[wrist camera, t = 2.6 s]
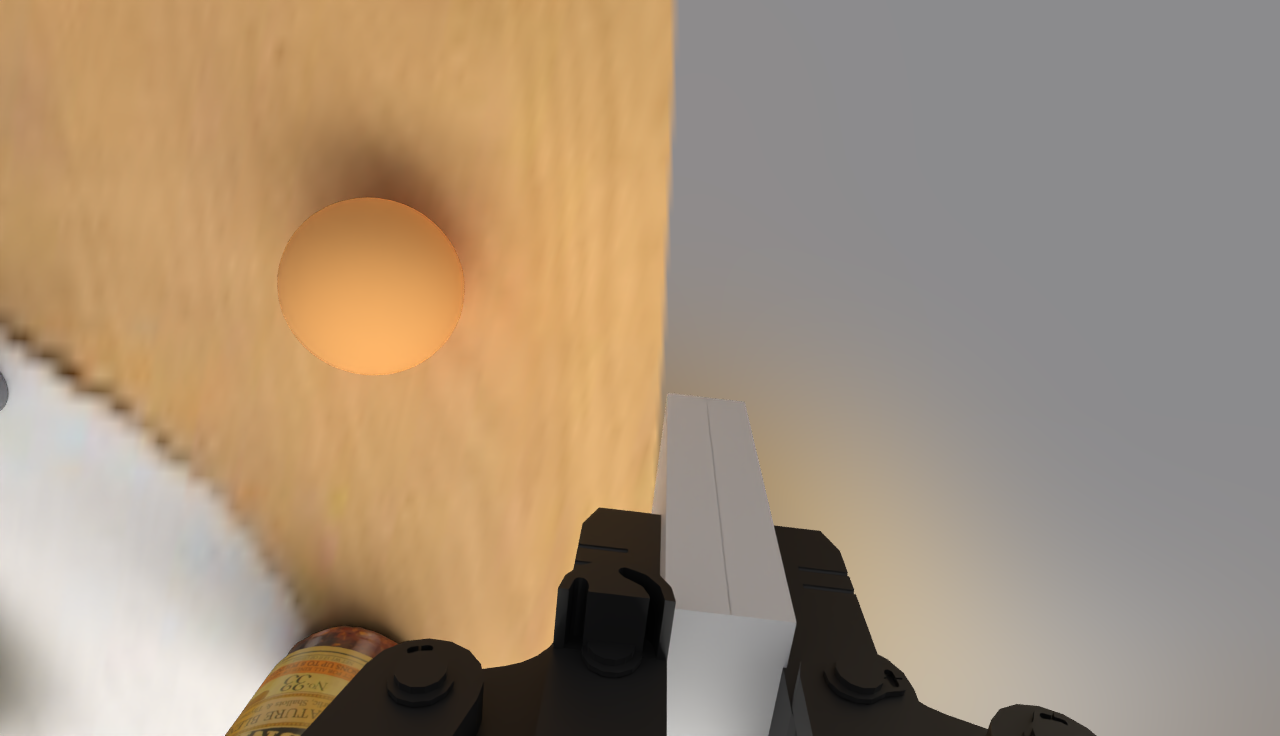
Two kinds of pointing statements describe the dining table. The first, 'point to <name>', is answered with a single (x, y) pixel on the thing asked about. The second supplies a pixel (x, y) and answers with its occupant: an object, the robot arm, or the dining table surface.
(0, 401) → the post
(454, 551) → the dining table surface
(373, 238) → the ball
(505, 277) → the dining table surface
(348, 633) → the sauce bottle
